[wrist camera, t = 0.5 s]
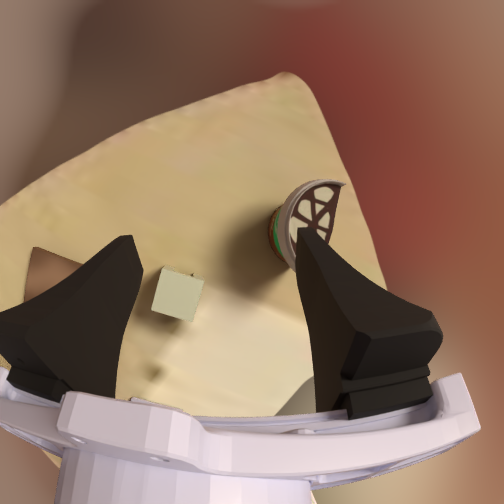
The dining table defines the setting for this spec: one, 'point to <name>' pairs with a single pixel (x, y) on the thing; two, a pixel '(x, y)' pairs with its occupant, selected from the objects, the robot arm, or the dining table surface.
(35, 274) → the serving board
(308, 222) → the food container
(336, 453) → the robot arm
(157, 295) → the pale slotted block
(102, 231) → the dining table surface
